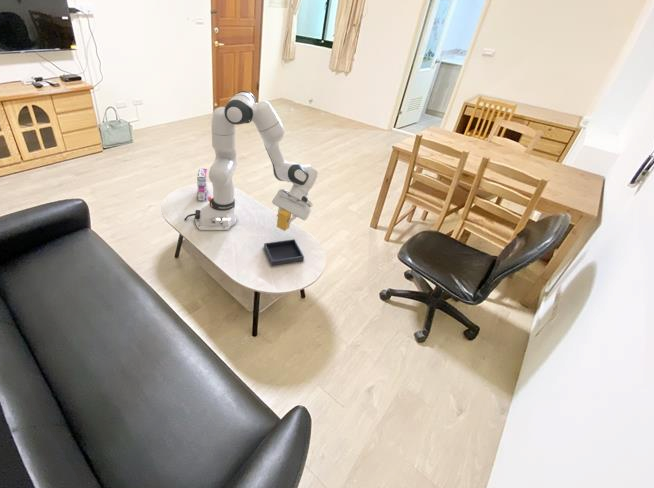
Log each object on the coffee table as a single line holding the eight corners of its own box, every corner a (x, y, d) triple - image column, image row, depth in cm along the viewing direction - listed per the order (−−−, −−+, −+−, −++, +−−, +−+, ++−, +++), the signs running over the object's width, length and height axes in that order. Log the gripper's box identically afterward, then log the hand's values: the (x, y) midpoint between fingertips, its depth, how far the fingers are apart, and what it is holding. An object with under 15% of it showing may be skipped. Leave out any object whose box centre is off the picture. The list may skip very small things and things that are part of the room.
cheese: (276, 226, 167) (278, 212, 162) (281, 223, 170) (283, 208, 165) (284, 231, 165) (286, 216, 160) (289, 227, 168) (291, 213, 162)
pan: (271, 266, 159) (272, 261, 157) (263, 248, 170) (264, 243, 168) (303, 261, 164) (304, 256, 162) (293, 244, 174) (294, 239, 173)
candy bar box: (206, 201, 200) (205, 177, 190) (197, 201, 199) (196, 177, 190) (207, 191, 209) (207, 168, 200) (199, 191, 208) (198, 168, 199)
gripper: (278, 185, 167) (264, 209, 166) (312, 202, 158) (298, 227, 157) (282, 189, 173) (269, 212, 172) (315, 206, 163) (301, 230, 162)
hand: (283, 219), depth 164 cm, fingers closed on cheese, 5 cm apart
